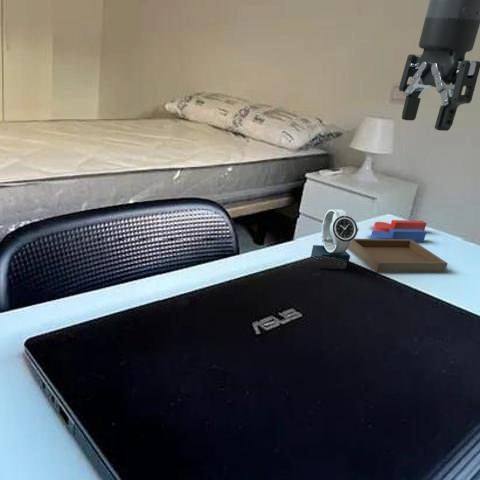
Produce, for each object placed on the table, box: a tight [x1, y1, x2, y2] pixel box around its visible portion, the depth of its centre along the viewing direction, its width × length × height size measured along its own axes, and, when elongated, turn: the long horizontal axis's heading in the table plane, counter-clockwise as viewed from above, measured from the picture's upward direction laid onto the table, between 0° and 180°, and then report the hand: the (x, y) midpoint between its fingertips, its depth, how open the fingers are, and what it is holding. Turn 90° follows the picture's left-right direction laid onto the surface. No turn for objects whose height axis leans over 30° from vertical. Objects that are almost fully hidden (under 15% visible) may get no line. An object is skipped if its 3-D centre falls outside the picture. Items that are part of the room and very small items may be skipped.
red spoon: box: [372, 219, 428, 233], centre depth 116 cm, size 12×4×3 cm, turn 99°
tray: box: [347, 238, 448, 273], centre depth 100 cm, size 15×12×2 cm
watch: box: [310, 208, 360, 262], centre depth 94 cm, size 6×8×11 cm
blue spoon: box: [369, 229, 427, 243], centre depth 110 cm, size 12×4×3 cm, turn 99°
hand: (423, 124), depth 82 cm, fingers open, 8 cm apart
